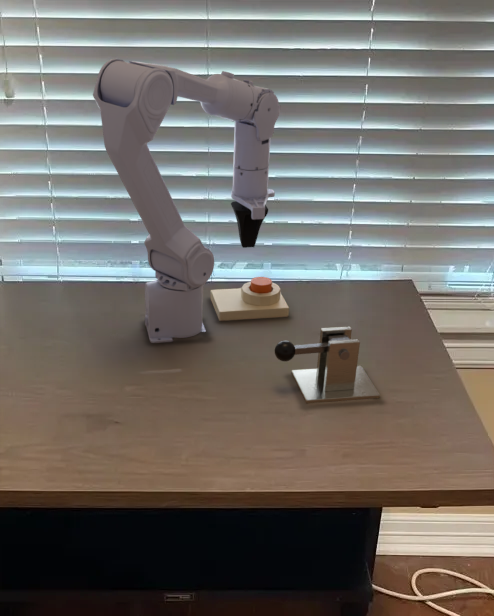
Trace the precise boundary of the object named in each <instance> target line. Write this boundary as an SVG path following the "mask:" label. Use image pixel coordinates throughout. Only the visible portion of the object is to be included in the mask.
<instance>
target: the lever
mask: <svg viewBox="0 0 494 616" xmlns="http://www.w3.org/2000/svg"><path fill="white" fill-rule="evenodd" d="M335 340H350V339H349V337H348V336H347V335H337V336H328V341H335ZM327 350H328V343H307V344H295V345H294V343H293V342H291V341H290V340H281V341H279V342H278V343H277V344H276V345H275V347H274V355H275V357H276V359H277V360H279V361H281V362H289V361H291V360H293V358H295V356H297V355H309V354H318V353H320V352H327Z"/></svg>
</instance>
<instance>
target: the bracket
mask: <svg viewBox="0 0 494 616" xmlns="http://www.w3.org/2000/svg"><path fill="white" fill-rule="evenodd" d="M352 331H353V329H352V327H351V326H336V327H321V328H320V334H319V343H328V350H327V352H320V353H317V363H316V368H303V369H292V370H291V373H290V374H291V376H292V378H293V380H294V382H295V384H296V386H297V388H298V390H299V392H300V394H301V396H302V399H303V400H304V402H305V404H316V403H317V404H319V403H320V404H321V403H332V402H345V401H346V402H347V401H358V400H372V399H373V400H374V399H380V396H381V395H380V392H379V391H378V389H377V388H376V386H375V385H374V383H373V382H372V380H371V379H370V377H369V375H368V374H367V372H366V371H365V369H364V368H363V366H362V365H358V363H359V362H358V360H359V353H360V346H361V341H360V340H359V338H353V339H352ZM337 335H347V336H348V337H349V339H350V340H335V341H328V336H337Z"/></svg>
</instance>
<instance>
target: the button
mask: <svg viewBox="0 0 494 616" xmlns="http://www.w3.org/2000/svg"><path fill="white" fill-rule="evenodd" d="M250 282H251V289H250V290H251V291H252V292H254V293H269V292H271V289H272V283H273V280H272V279H271V278H269V277H265V276H256V277H252V278H251V280H250Z"/></svg>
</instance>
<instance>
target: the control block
mask: <svg viewBox="0 0 494 616" xmlns="http://www.w3.org/2000/svg"><path fill="white" fill-rule="evenodd" d="M250 289H251V281H247V282H245V283H244V284H243V285H242V286H241V287H238V288H219V289H210V294H209V295H210V296H209V298H210V301H211V303H212V306H213V308H214V311H215V313H216V316H217V319H218V321H220V322H224V321H238V320H254V319H256V320H257V319H272V318H285V317H286V318H287V317H289V313H290V307H289V305H288V303H287V302H286V300H285V297H284V296H283V295H282V292H281V288H280V286H279V285H278V284H277V283H274V282H272V289H271V292H269V293H254V292H252V291H251V290H250Z"/></svg>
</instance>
